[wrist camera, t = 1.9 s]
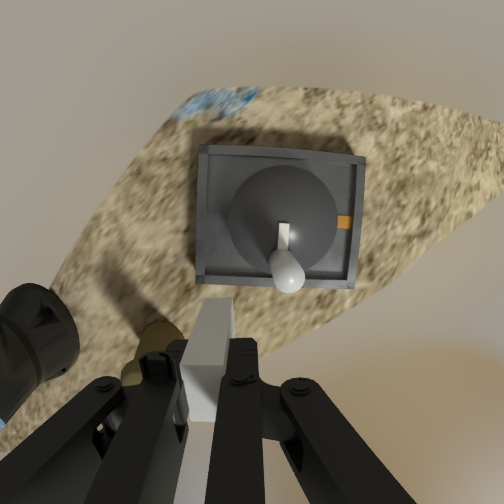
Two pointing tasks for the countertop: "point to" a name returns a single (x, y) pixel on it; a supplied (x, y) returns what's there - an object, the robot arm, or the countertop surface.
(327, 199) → the lever
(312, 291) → the countertop surface
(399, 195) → the countertop surface
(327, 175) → the dark grey tray
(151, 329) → the cork
